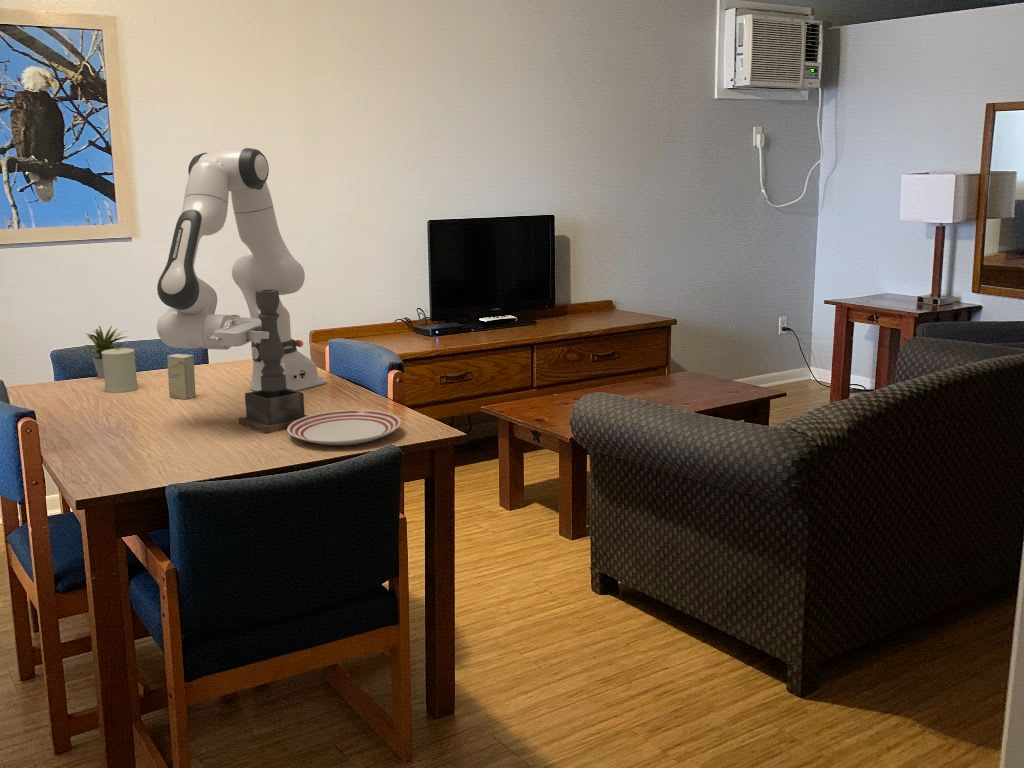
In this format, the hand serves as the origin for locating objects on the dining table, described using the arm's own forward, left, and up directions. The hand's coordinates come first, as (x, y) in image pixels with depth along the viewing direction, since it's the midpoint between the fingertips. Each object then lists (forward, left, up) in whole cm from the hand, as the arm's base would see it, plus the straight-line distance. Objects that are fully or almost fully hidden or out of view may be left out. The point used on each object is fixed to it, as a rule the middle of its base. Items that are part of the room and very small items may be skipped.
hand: (273, 333), depth 253 cm
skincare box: (+3, -46, -24) cm, 52 cm away
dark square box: (0, -1, -23) cm, 24 cm away
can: (+11, -69, -24) cm, 74 cm away
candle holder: (0, -1, -14) cm, 15 cm away
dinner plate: (-6, +21, -24) cm, 33 cm away
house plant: (+8, -89, -24) cm, 92 cm away
